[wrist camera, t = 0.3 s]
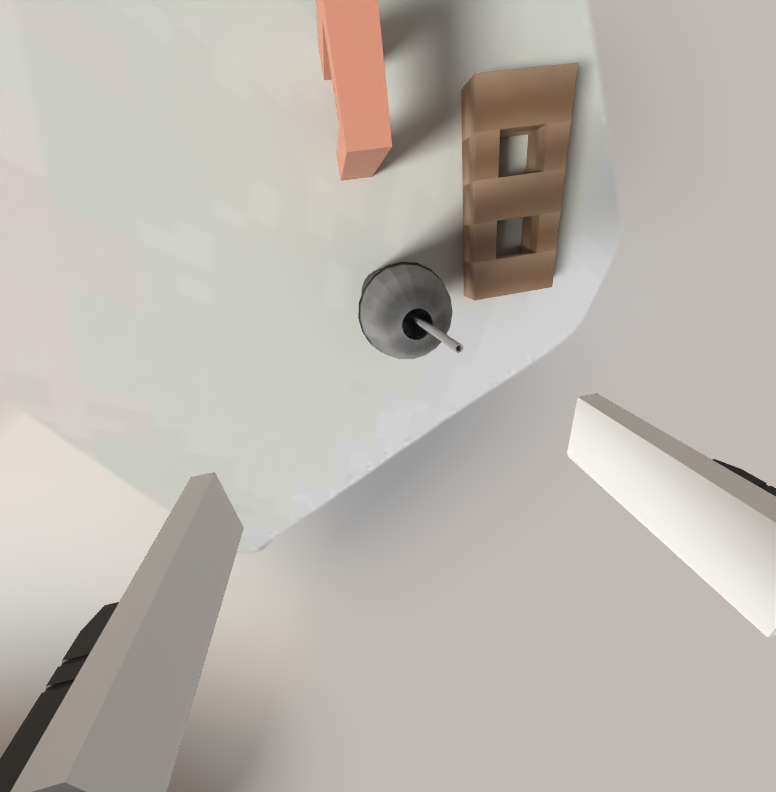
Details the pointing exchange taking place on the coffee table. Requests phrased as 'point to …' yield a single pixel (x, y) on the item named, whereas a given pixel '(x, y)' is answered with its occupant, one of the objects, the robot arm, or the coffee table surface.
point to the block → (356, 82)
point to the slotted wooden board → (521, 194)
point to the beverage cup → (406, 311)
